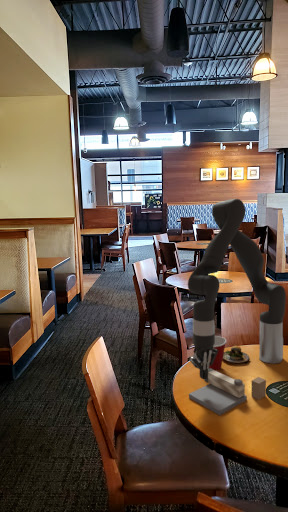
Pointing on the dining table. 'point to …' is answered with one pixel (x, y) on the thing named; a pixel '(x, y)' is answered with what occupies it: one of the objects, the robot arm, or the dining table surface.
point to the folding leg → (226, 383)
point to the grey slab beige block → (225, 396)
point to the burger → (236, 355)
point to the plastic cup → (220, 347)
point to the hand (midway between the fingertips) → (203, 378)
